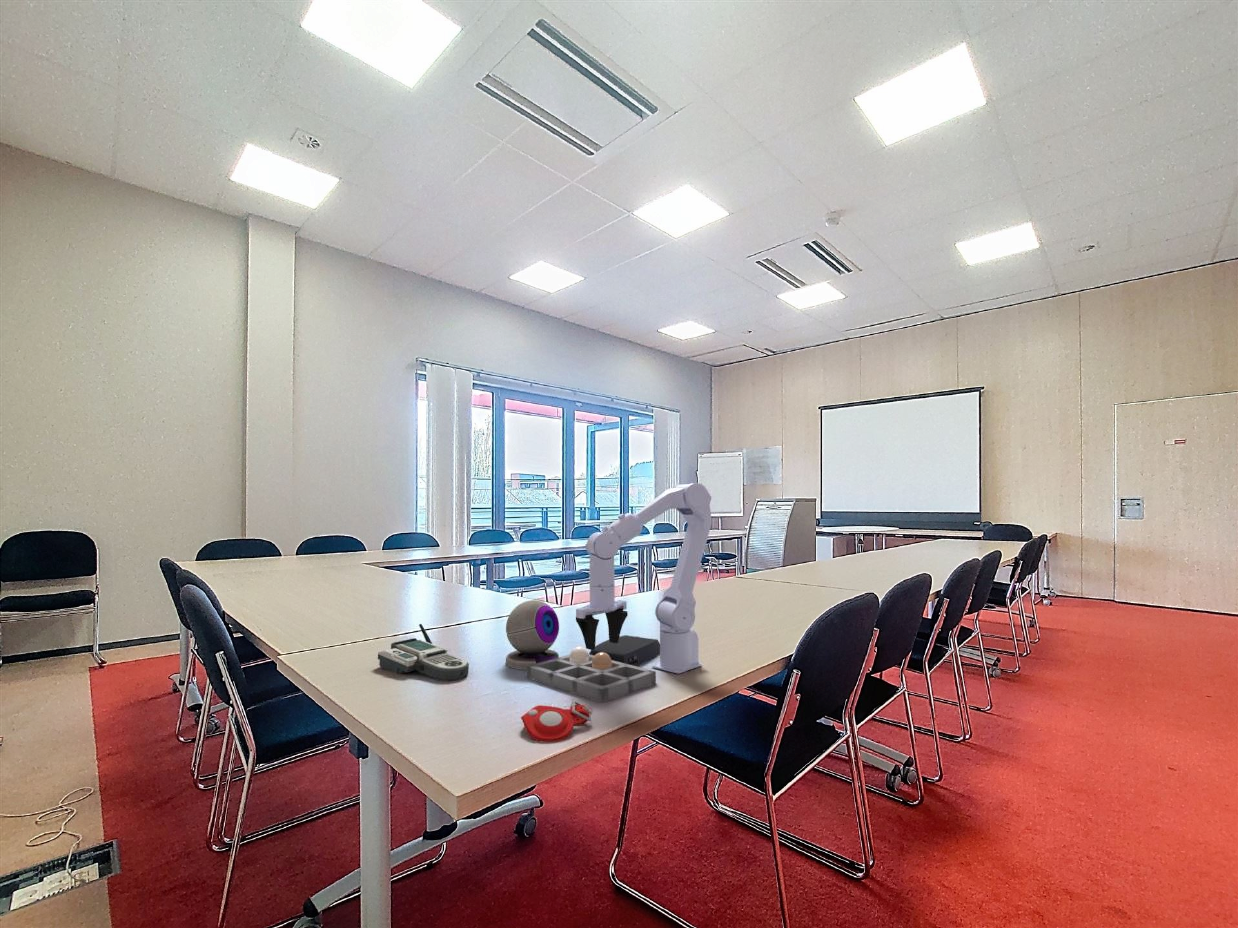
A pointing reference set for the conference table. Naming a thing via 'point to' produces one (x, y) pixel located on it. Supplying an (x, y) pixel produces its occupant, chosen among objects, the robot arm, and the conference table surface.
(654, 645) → the external hard drive
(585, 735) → the conference table surface
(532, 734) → the tracker holder
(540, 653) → the webcam
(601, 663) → the tan bulbous object
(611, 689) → the egg crate
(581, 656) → the cream egg
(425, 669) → the communication device
